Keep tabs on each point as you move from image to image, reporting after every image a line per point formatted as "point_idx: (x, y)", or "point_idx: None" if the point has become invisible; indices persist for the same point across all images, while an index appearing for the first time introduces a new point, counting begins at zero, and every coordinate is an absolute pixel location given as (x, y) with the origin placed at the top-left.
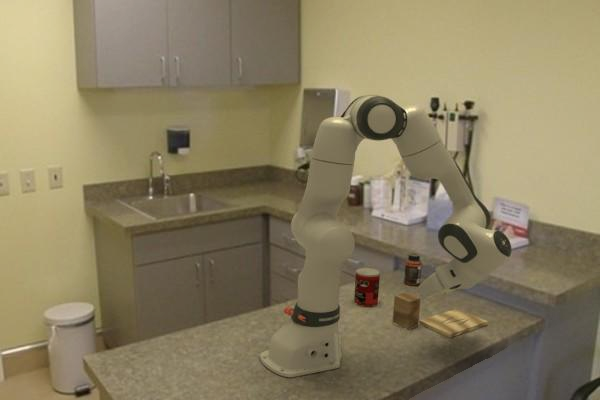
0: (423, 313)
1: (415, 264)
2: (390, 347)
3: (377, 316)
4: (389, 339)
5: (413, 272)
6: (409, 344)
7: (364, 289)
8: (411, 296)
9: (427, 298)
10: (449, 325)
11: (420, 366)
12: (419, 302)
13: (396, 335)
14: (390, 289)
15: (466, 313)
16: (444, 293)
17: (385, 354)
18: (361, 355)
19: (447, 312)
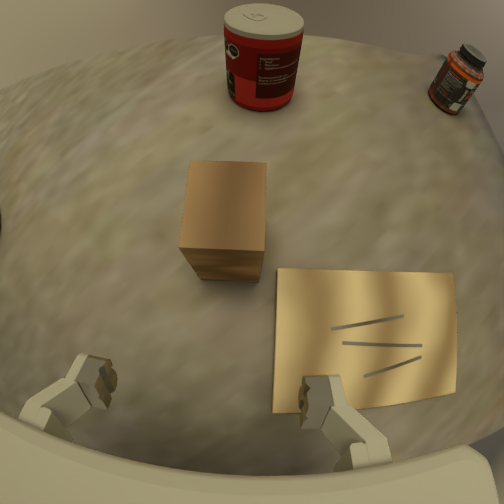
0: (355, 223)
1: (465, 72)
2: (67, 330)
3: (207, 160)
4: (101, 294)
5: (452, 84)
6: (120, 356)
7: (231, 64)
8: (247, 207)
9: (109, 395)
10: (334, 361)
11: None
12: (258, 256)
13: (137, 288)
14: (378, 84)
15: (451, 316)
16: (298, 399)
17: (35, 345)
18: (3, 308)
19: (411, 278)
